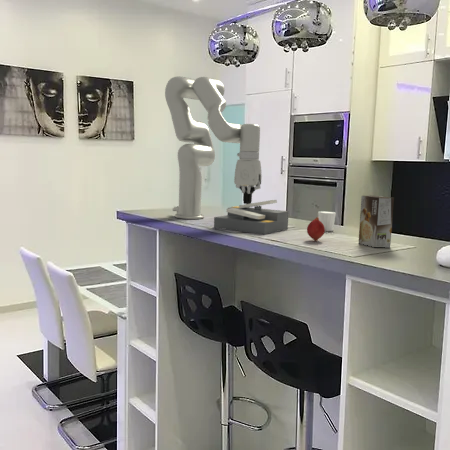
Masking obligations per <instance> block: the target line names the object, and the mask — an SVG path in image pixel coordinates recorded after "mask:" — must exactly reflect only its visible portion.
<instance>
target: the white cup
mask: <svg viewBox="0 0 450 450" xmlns="http://www.w3.org/2000/svg"><path fill="white" fill-rule="evenodd" d="M336 216H337V215H336V212H335V211H327V210H325V211H324V210H321V211H318V212H317V217H318V218H319V221H321V222H322V223H323V225H324V227H325V232H332V231H334V227H335V220H336Z"/></svg>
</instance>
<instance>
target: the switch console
mask: <svg viewBox="0 0 450 450" xmlns="http://www.w3.org/2000/svg"><path fill="white" fill-rule="evenodd" d="M229 208H236V209H241V210H245V211H250V212H254V213H258V214H263V215H265V218H264V219H254V218H250V217H246V216H242V215H237V214H233V213H229V212H227V215H221V216H214V217H213V228H215V229H221V230H228V229H229V230H230V231H236V232H237V231H238V232H244V233H250V234H251V233H252V234H259V235H268V234H272V233H277V232H282V231H286V230H288V229H289V227H288V226H289V213H290V211H288V210H279V209H272V208H271V209H269V208H262V205H260V206H253V207H247V208H239V206H238V205H235V206H231V207H230V206H229V207H227V209H229ZM229 230H228V231H229Z"/></svg>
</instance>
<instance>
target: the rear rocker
mask: <svg viewBox="0 0 450 450" xmlns="http://www.w3.org/2000/svg"><path fill="white" fill-rule="evenodd" d="M277 203H278V201H277V199H272V200H264V201H257V202H251V204H244V203H243V204H239V208H247V207H251V208H254V207H255V206H266V205H272V204H277Z"/></svg>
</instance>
